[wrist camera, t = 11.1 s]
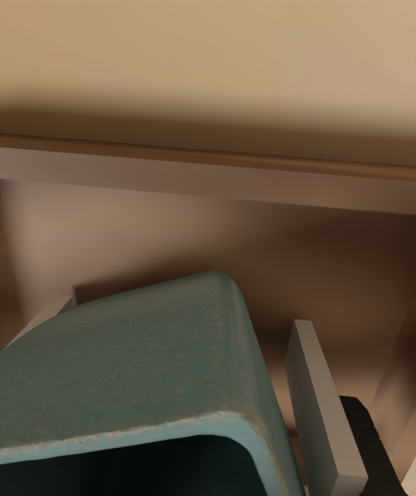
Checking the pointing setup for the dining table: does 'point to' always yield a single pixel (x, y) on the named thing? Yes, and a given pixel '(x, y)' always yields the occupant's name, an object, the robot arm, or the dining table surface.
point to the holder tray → (228, 252)
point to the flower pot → (145, 399)
